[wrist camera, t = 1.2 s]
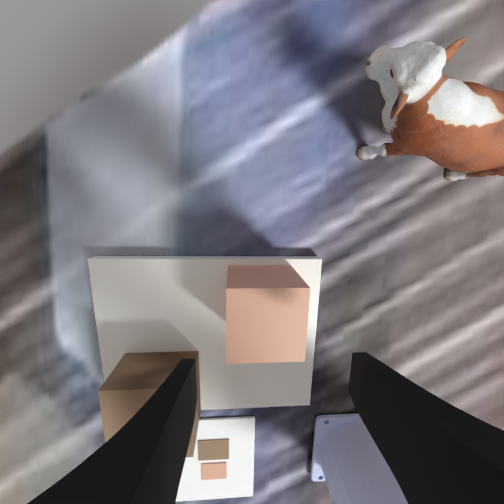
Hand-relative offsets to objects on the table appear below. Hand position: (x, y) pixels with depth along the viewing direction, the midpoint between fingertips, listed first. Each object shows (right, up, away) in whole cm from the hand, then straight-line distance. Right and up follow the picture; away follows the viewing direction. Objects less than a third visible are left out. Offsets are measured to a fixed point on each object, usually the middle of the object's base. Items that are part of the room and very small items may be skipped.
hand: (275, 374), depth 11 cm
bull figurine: (+11, +14, +8) cm, 19 cm away
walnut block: (-9, -6, +10) cm, 14 cm away
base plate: (-5, -2, +10) cm, 11 cm away
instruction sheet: (-5, -15, +13) cm, 21 cm away
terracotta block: (0, +2, +9) cm, 9 cm away
